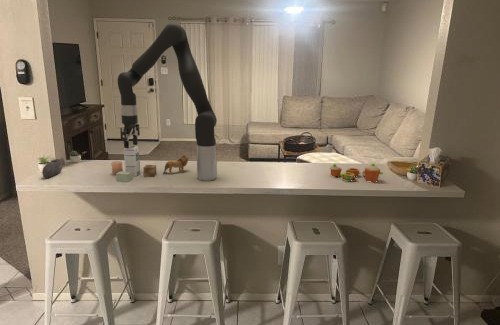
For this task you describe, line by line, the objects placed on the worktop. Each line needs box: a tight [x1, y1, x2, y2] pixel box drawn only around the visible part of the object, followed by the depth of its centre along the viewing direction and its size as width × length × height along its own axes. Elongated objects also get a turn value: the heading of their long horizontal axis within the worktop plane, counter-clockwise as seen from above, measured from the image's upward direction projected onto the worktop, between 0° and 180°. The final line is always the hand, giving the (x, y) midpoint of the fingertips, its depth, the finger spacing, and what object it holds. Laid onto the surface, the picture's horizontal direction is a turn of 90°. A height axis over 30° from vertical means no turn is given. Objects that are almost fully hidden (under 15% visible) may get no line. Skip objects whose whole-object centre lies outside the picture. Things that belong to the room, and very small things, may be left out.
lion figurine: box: [162, 154, 189, 175], centre depth 186 cm, size 15×5×9 cm, turn 130°
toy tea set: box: [329, 162, 384, 183], centre depth 184 cm, size 26×16×10 cm, turn 90°
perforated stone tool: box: [41, 158, 63, 179], centre depth 177 cm, size 15×5×7 cm, turn 179°
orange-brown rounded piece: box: [111, 160, 124, 176], centre depth 182 cm, size 5×5×6 cm
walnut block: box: [142, 164, 157, 178], centre depth 181 cm, size 5×5×5 cm
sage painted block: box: [115, 170, 133, 183], centre depth 172 cm, size 6×4×4 cm, turn 79°
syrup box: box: [123, 145, 141, 177], centre depth 181 cm, size 6×6×14 cm
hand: (131, 146), depth 179 cm, fingers open, 8 cm apart
